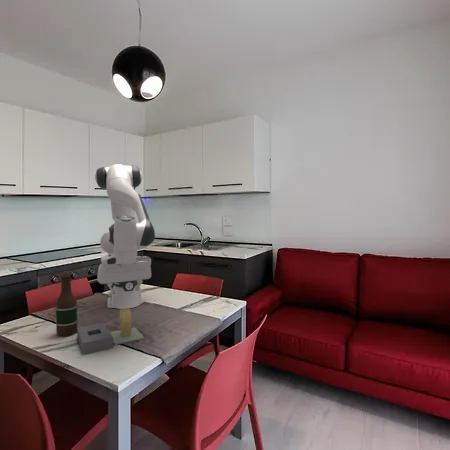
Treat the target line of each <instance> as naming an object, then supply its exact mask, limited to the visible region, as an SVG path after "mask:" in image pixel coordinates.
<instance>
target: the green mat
mask: <svg viewBox="0 0 450 450" xmlns="http://www.w3.org/2000/svg"><path fill="white" fill-rule="evenodd" d="M109 332H110V333H111V335H112V336H113V346H117V345H118V346H119V345H122V344H126V343H130V342H135V341H141V340H144V339H145V336H144V335H143V334H142V333H141V332H140V331H139V330H138V329H137V328H136V326H135V327H131V336H126V337H122V336H121V335H120V329H119V330H114V331H113V330H112V331H109Z"/></svg>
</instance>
